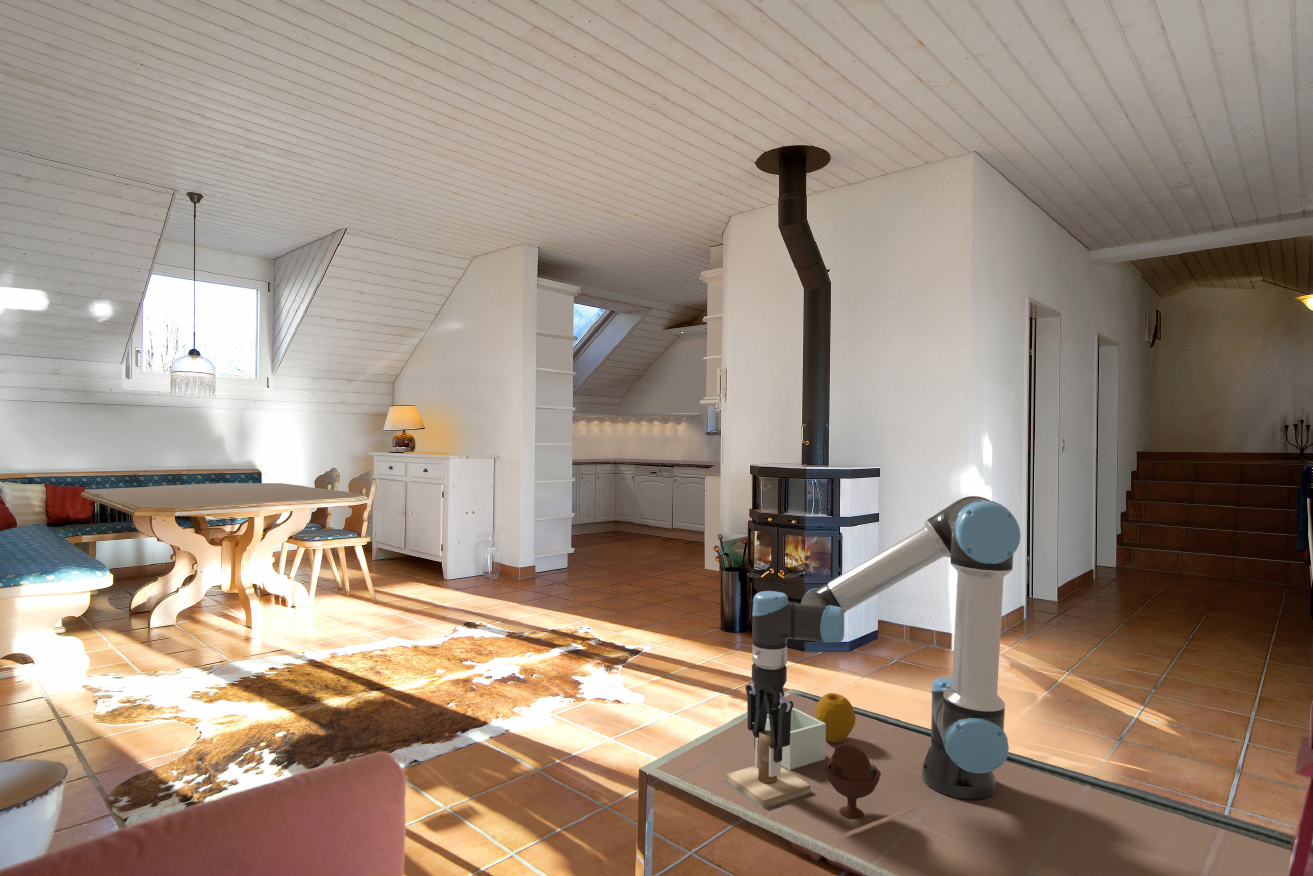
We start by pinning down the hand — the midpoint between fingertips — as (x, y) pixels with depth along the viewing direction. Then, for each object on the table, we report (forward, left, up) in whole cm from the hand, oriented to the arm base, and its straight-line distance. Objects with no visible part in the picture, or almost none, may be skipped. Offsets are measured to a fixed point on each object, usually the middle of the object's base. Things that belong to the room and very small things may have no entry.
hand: (767, 770), depth 160 cm
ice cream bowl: (-17, -8, -4) cm, 19 cm away
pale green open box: (+9, -15, -4) cm, 18 cm away
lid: (0, 0, -4) cm, 4 cm away
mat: (0, 0, -4) cm, 4 cm away
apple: (+11, -31, -4) cm, 33 cm away
